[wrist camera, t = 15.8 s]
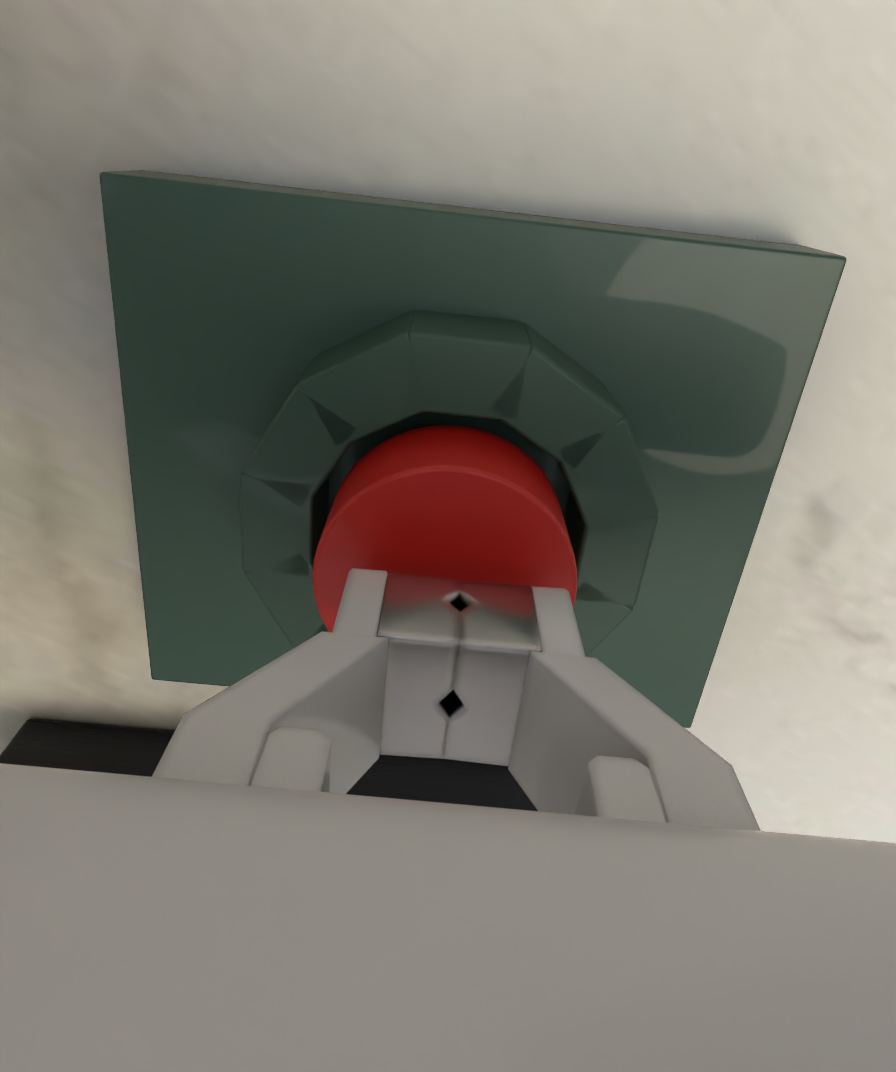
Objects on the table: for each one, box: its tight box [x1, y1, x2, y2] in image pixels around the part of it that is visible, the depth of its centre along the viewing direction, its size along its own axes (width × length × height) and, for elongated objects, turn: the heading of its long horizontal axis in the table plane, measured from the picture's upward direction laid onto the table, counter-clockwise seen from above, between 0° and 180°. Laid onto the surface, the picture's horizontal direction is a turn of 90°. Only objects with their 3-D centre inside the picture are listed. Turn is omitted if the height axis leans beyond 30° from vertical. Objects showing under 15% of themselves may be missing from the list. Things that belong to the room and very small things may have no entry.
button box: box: [100, 170, 846, 728], centre depth 14 cm, size 12×10×4 cm
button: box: [313, 425, 577, 632], centre depth 12 cm, size 4×4×2 cm
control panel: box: [0, 719, 538, 811], centre depth 21 cm, size 14×14×3 cm
